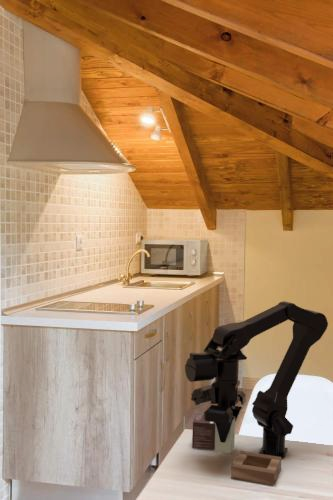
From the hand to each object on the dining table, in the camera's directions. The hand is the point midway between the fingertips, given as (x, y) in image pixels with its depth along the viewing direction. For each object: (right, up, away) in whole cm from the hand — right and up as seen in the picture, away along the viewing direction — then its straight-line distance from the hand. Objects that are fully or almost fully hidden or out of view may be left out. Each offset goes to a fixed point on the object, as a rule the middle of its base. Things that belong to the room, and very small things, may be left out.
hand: (224, 439), depth 155 cm
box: (-4, -5, +10) cm, 12 cm away
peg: (0, -3, 0) cm, 3 cm away
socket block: (+7, -6, -7) cm, 12 cm away
